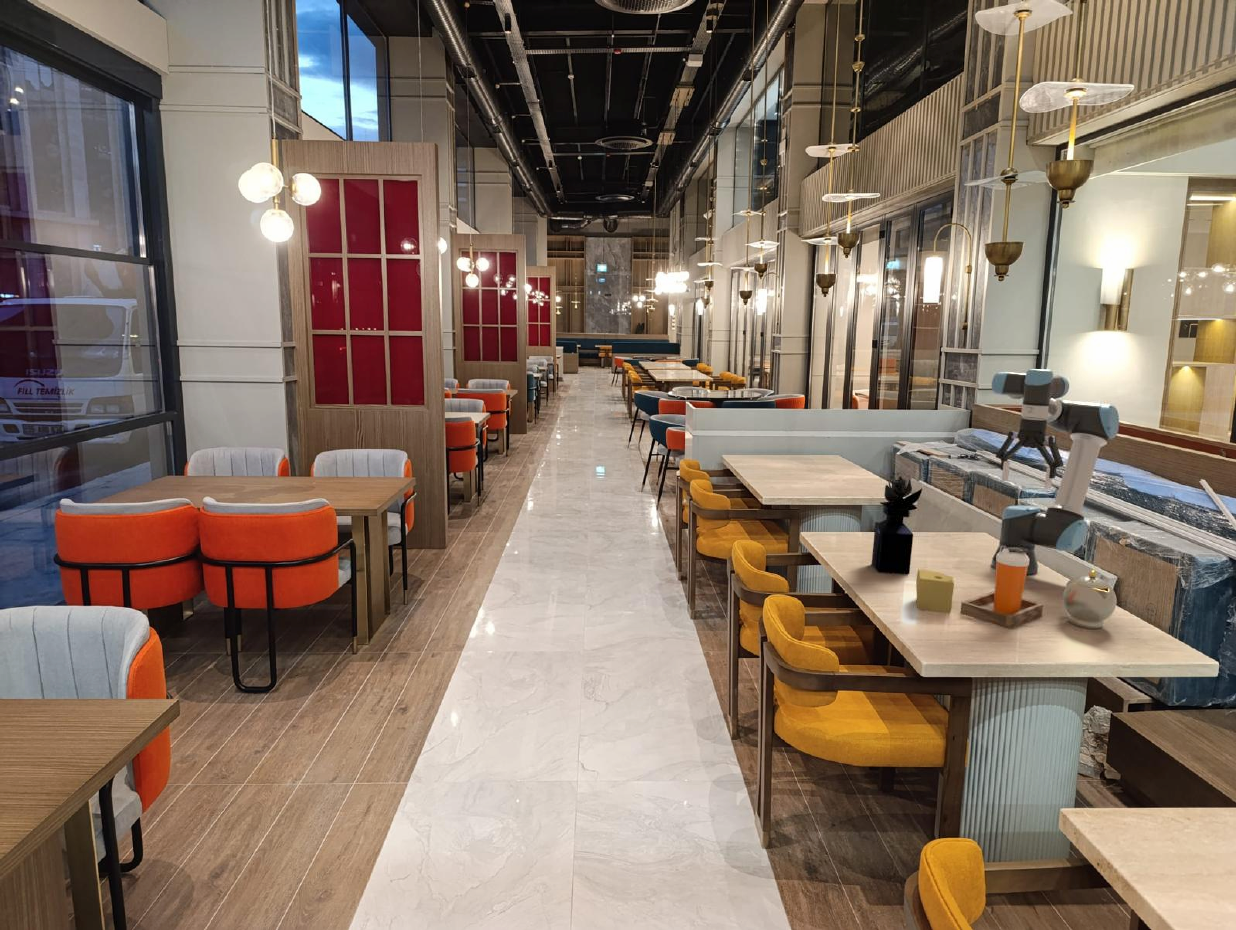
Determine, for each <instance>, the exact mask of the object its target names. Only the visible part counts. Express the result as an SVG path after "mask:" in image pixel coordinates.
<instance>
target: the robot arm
mask: <svg viewBox="0 0 1236 930" xmlns="http://www.w3.org/2000/svg"><path fill="white" fill-rule="evenodd" d="M1069 389H1070V382H1069V380H1068V379H1067V378H1066V377H1065V376H1063V375H1059V374H1054V372H1053V371H1052V370H1051V369H1044V368H1043V369H1040V368H1039V369H1037V368H1030V369H1027V371H1026V373H1024V372H1010V371H999V372H997V373H995V374H994V376H992V380H991V390H992V392H993V393H994V394H995V395H1001V396H1004V395H1005V396H1008V397H1010V398H1011V399H1012V400H1013V401H1015V402H1017V403H1018V404H1019V405H1021V406H1022V407H1021V412H1020V413H1021V414H1020V416H1021V418H1020V420H1019V432H1017V431H1015V430H1010V431H1008V434H1007V438H1006V439H1005V441H1004V443H1003V444H1002V445H1001V447H1000V448H999V450H998V451H997V452H996V454H995V457H996V459H999V460H1000V471H1002V474H1001V482H1007V481H1009V475H1010V467H1011V460H1009V459H1010V458H1011V457H1012V456H1013V455H1015V454H1016V453H1017V452H1018V451H1019V450H1020V449H1021V448H1030V449H1037V451H1038V452H1040V454H1041V456H1042V457H1043V459H1044V461H1045V462H1046V463H1047V465H1048V466H1049V467H1047V468H1046V471H1045V472H1046V473H1045V481H1044V489H1046V490H1048V489H1051V488H1052V482H1053V481H1052V480H1053V479H1055V478H1056V473H1057V469H1058V468H1062V467H1064V465H1065V467H1064V470H1063V474H1062V477H1061V480H1060V483H1059V486H1058V490H1057V493H1056V497H1055V499H1054V500H1055V501H1054V502H1053V504H1052V505H1050V506H1048V507H1047V509H1046V512H1041V508H1040V507H1039V506H1035V505H1009V506H1007V507H1005V508H1004V509H1003V513H1002V517H1001V525H1000V535H999V544H998V547H997V549H996V551H995V553H994V555H993V557H992V558H991V564H990V565H991V566H992V568H994V569H996V563H997V561H996V556H997V554H998V553H999V552H1000V547H1001V546H1006V547H1007V548H1010V547H1018V548H1025V549H1027V550H1028V551H1026V555H1027V556H1028V558H1029V566H1028V568H1027V574H1026V575H1033V574H1037V573H1038V570H1039V565H1038V559H1037V555H1036V550H1035V548H1036V546H1040V547H1043V548H1048V549H1053V550H1056V551H1058V552H1066V553H1073V552H1077V550H1078V549H1080V548H1081V546H1082V545H1083V543H1084V542H1085V540H1086V537H1087V535H1088V529H1089V528H1088V527H1089V526H1088V523H1087V521H1085V515H1084V514H1083V512H1082V509H1083V506H1084V503H1085V500H1086V496H1087V492H1088V490H1089V486H1090V483H1091V480H1092V477H1093V474H1094V471H1095V467H1096V464H1097V460H1098V457H1099V453H1100V450H1101V448H1102V447H1104V446H1107V444H1108V441H1109V439H1110V440H1112V439H1115V438H1116V436H1117V435H1118V433H1119V427H1120V417H1119V412H1118V409H1117V408H1116V407H1115V406H1114V405H1113V404H1109V403H1108V404H1107V403H1103V402H1089V401H1079V400H1078V401H1077V400H1068V399H1067V400H1066V399H1065V400H1064V399H1060V398H1063V397H1064V396H1066V394H1067V393H1068V392H1069ZM1047 427H1049V428H1051V429H1053V430H1056V431H1059V432H1061V433H1066V434H1070V435H1069V437H1070V439H1071V440H1072V444H1071V448H1070V451H1069V455H1068V458H1067V461H1066V464H1065V463H1064V462H1063V459H1062V456H1061V452H1060V450H1059V448H1058V445H1057V436H1056V435H1051V436H1048V435H1046V431H1047ZM1017 438H1018V441H1017V442H1016V443H1015V444H1014V446H1013V447H1011V448H1010V446H1011V445H1012V444H1013V442H1014V441H1015V439H1017ZM1045 441H1046V443H1047V444H1048V447H1049V450H1050V452H1051V454H1050V452H1049V451H1048V449H1047V447H1046V445H1045V444H1044V442H1045ZM1009 448H1010V449H1009ZM1019 552H1020V551H1019Z"/></svg>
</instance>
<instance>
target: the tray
mask: <svg viewBox="0 0 1236 930" xmlns="http://www.w3.org/2000/svg"><path fill="white" fill-rule="evenodd" d="M994 593H995V590H993V591H990V592H987V593H984V594H981V595H978V596H976V597H973V598H970V599H968V600H964V601H961V604H960V612H959V614H960V615H964V616H967V617H970V618H973V619H977V620H979V621H982V622H986V623H989V624H992V625H995V626H998V627H1001V628H1004V629H1007V630H1011V629H1014V628H1016V627H1017V626H1021V625H1024V624H1026V623H1028V622H1031V621H1033V620H1035V619H1039V618H1040V617H1042V615H1043V611H1044V610H1043V609H1044V604H1042V603H1039V602H1036V601H1032V600H1029V599H1026V598H1022V601H1021V607H1020V611H1019V612H1016V613H1013V614H1011V615H1006V614H1003V613H1000V612H996V611H994V610H993V608H994Z"/></svg>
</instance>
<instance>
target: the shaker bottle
mask: <svg viewBox="0 0 1236 930" xmlns="http://www.w3.org/2000/svg"><path fill="white" fill-rule="evenodd" d="M1019 551H1020V552H1019ZM1026 551H1028V550H1027V549H1025V548H1018V547H1010V548H1007V547H1006V546H1001V547H1000V552H999V553H998V554H997V556H996V561H997V563H996V568H995V579H994V580H995V581H994V591H995V593H994V608H993V610H994V611H996V612H1000V613H1003V614H1006V615H1011V614H1013V613H1016V612H1019V611H1020V607H1021V601H1022V599H1023V594H1024V590H1025V584H1026V578H1027V575H1028V574H1027V568H1028V566H1029V558H1028V556H1027V555H1026Z"/></svg>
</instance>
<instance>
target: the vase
mask: <svg viewBox="0 0 1236 930" xmlns="http://www.w3.org/2000/svg"><path fill="white" fill-rule="evenodd" d="M892 475H895V476H897V478H898V479H896V478H895V477H893V476H892ZM892 475H891V476H890V479H894V480H891V481H890V480H888V484H885V485H884V498H885V500H886V501H885V502H884V501H883V502H881V501H880V502H878V503H879V504H880V505H882V506H883V509H882V512H883V514H885V516H886V519H884V520H882V521H880V522H878V523H877V524H875V525H874V534H873V544H872V555H871V565H872V567H873V568H874V570H875V571H876V572H877V573H878V574H893V573H894V574H896V575H908V574H909V575H910V570H911V560H912V550H913V541H914V534H913V532H912V531H911V530H910V529H909V528H908V526H907V525H906V524H905V523H904V518H910V516H911V515H910V513H911V511H914V510H917V509H918V507H917V506H915V503H917V502H918V501H919V499H920V498H921V497H920V496H921V494H922V491H923V488H920V489H919V490H917V491H915V492H912V490H913V486H912V483H911V479H910V478H909V479H908V483H907V479H906V478H903V477H902V476H901V475H900V474H899V472H897V473H895V472H893V473H892ZM906 483H907V484H906ZM906 485H907V486H906Z"/></svg>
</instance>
